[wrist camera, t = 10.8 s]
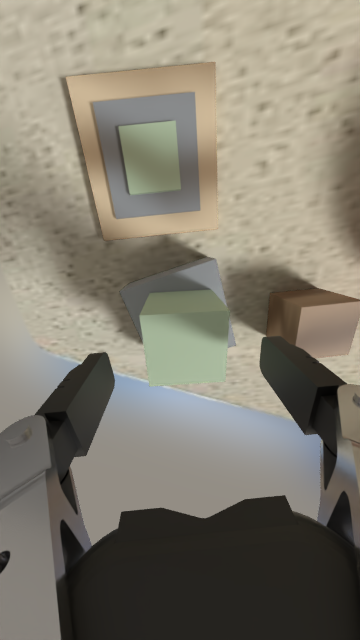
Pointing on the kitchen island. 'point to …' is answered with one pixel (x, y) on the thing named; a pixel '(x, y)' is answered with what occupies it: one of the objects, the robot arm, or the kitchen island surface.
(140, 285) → the grey base block
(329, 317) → the walnut block
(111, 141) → the tile
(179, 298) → the sage block
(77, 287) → the kitchen island surface
